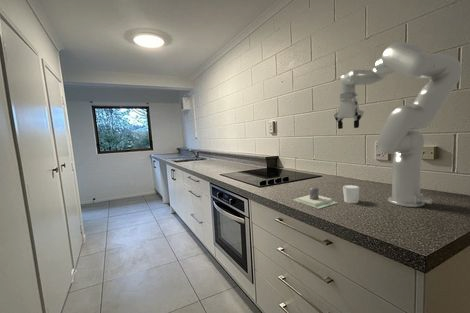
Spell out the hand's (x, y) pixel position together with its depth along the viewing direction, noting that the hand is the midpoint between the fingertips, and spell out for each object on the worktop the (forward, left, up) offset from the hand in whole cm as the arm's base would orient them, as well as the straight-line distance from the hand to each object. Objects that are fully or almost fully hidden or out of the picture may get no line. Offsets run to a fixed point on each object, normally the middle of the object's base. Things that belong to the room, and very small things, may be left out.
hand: (348, 128), depth 124 cm
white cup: (-17, +23, -34) cm, 44 cm away
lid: (-7, +36, -33) cm, 49 cm away
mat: (-7, +36, -33) cm, 50 cm away
